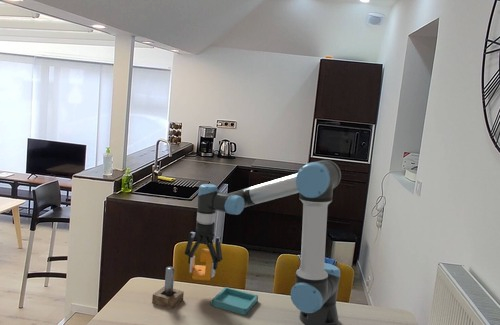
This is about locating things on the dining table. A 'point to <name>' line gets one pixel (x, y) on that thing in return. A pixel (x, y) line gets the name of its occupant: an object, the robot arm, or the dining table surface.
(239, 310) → the tray
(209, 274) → the bracket
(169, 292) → the pin
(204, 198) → the robot arm
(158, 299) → the tan square sleeve
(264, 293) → the dining table surface
